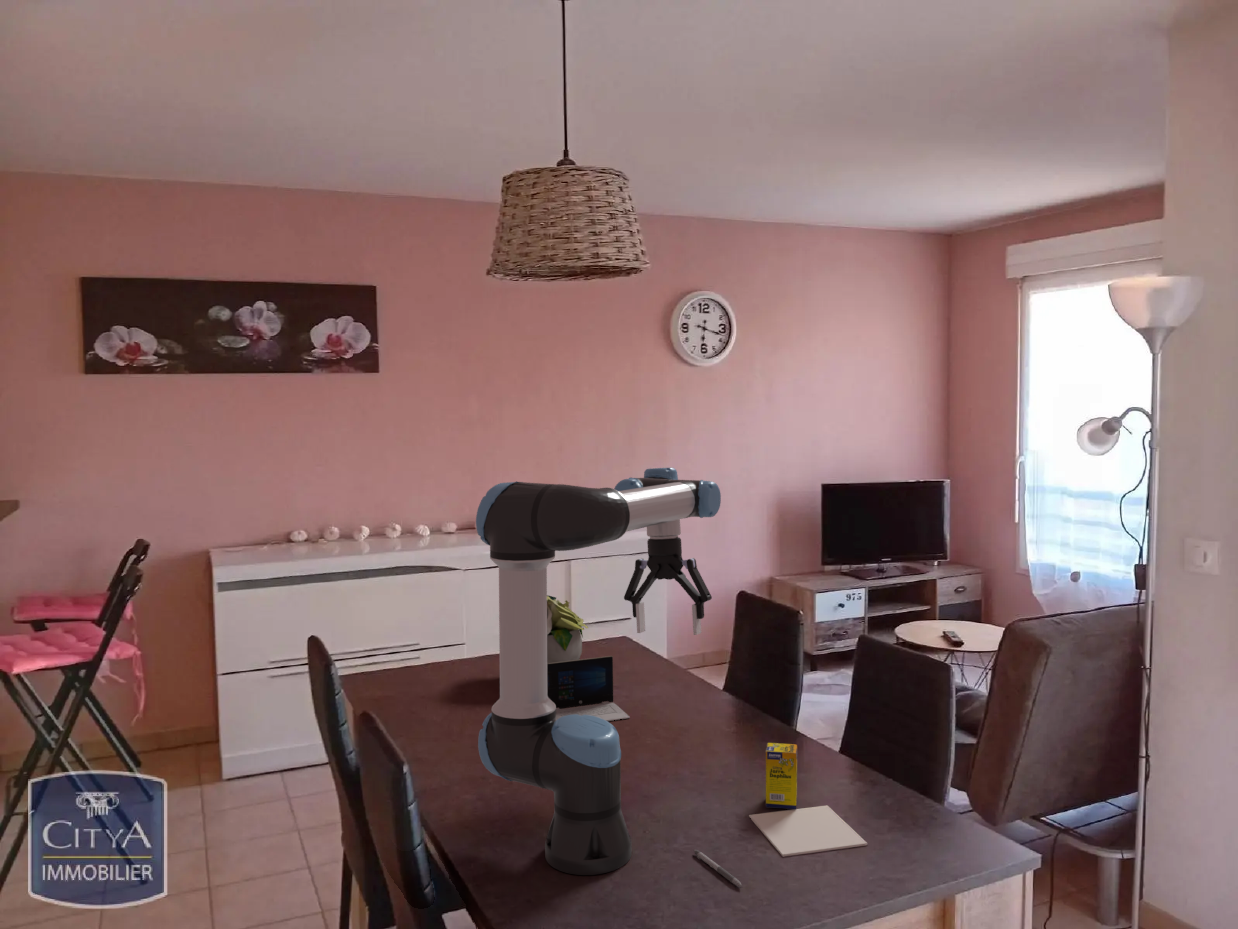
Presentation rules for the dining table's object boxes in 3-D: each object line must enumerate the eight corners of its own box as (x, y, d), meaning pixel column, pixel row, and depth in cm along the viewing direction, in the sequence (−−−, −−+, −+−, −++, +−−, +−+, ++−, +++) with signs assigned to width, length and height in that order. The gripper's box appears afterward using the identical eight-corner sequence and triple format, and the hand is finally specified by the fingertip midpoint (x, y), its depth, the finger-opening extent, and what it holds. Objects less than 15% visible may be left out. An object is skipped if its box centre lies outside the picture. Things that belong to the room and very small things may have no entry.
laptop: (560, 730, 230) (559, 676, 229) (546, 713, 242) (545, 663, 241) (630, 720, 236) (629, 668, 235) (613, 704, 248) (612, 655, 247)
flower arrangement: (494, 694, 257) (492, 604, 255) (508, 667, 282) (506, 585, 280) (586, 693, 256) (584, 604, 254) (592, 667, 281) (590, 585, 279)
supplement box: (796, 810, 182) (796, 753, 182) (765, 808, 183) (765, 751, 183) (797, 799, 188) (797, 744, 188) (766, 797, 189) (766, 742, 189)
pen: (697, 855, 167) (697, 847, 167) (744, 891, 155) (744, 882, 154) (692, 856, 166) (692, 848, 166) (739, 892, 154) (739, 884, 154)
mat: (867, 845, 169) (867, 843, 169) (782, 856, 165) (782, 854, 165) (827, 807, 184) (827, 805, 184) (749, 817, 180) (749, 815, 180)
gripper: (722, 534, 210) (727, 631, 209) (621, 536, 221) (626, 628, 221) (710, 537, 203) (715, 637, 203) (606, 539, 214) (611, 634, 214)
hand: (668, 633), depth 212 cm, fingers open, 13 cm apart
